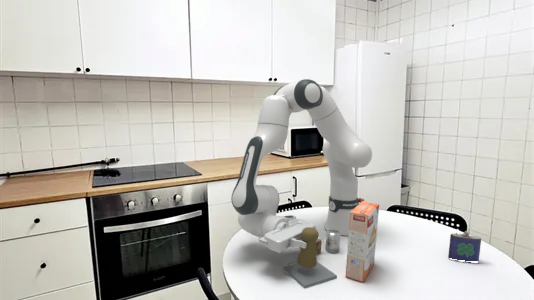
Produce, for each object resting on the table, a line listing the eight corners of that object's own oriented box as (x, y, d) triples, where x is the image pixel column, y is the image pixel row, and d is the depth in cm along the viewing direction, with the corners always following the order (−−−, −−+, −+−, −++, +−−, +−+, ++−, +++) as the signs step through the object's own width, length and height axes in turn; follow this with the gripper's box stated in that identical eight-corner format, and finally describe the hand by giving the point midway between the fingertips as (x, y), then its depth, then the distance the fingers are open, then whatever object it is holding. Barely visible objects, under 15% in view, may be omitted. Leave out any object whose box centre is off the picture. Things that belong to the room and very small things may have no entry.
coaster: (312, 260, 103) (312, 258, 103) (336, 278, 92) (336, 275, 92) (282, 268, 97) (282, 266, 97) (304, 288, 87) (304, 285, 87)
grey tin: (333, 246, 114) (333, 228, 113) (342, 252, 110) (343, 233, 109) (322, 249, 112) (323, 230, 111) (331, 254, 107) (332, 235, 106)
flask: (477, 261, 105) (480, 231, 104) (480, 265, 102) (483, 234, 101) (447, 257, 108) (450, 227, 106) (449, 260, 105) (452, 231, 103)
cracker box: (364, 283, 90) (369, 215, 87) (344, 277, 93) (348, 211, 90) (375, 264, 101) (380, 203, 99) (357, 259, 105) (361, 200, 102)
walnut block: (310, 248, 112) (310, 235, 111) (321, 253, 109) (321, 239, 108) (301, 252, 109) (301, 239, 108) (312, 257, 105) (312, 243, 104)
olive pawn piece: (315, 269, 91) (319, 234, 89) (295, 265, 92) (299, 230, 90) (317, 259, 97) (321, 227, 95) (298, 255, 98) (302, 223, 96)
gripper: (255, 229, 94) (291, 243, 85) (295, 214, 109) (329, 224, 100) (255, 248, 95) (290, 264, 85) (294, 230, 110) (328, 242, 101)
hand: (311, 242), depth 93 cm, fingers closed on olive pawn piece, 4 cm apart
